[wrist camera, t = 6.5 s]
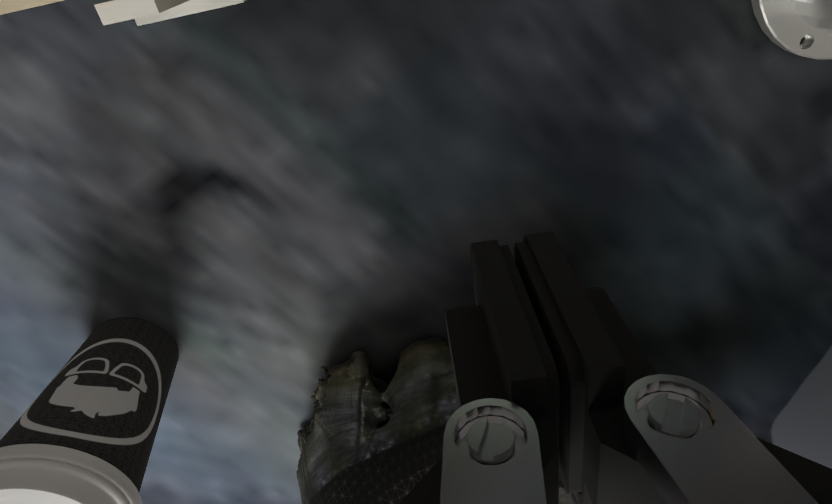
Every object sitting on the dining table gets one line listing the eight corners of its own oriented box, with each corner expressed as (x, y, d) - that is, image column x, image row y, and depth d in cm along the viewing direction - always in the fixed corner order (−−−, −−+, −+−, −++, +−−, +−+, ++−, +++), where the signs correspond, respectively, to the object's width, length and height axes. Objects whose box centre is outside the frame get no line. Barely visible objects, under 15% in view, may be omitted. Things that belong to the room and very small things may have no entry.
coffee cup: (39, 330, 41) (-112, 516, 28) (146, 282, 39) (40, 454, 26) (125, 409, 45) (30, 600, 32) (223, 369, 44) (165, 551, 31)
